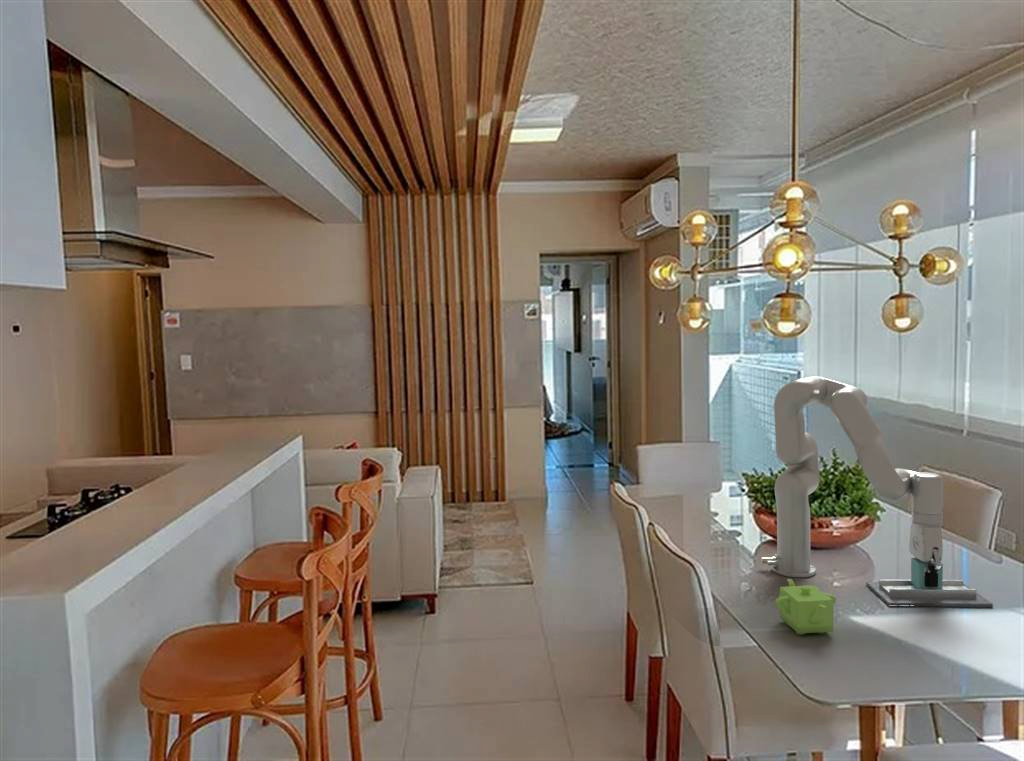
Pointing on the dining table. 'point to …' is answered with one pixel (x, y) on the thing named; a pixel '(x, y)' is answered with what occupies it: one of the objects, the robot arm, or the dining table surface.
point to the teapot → (806, 608)
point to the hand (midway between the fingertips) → (926, 582)
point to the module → (923, 574)
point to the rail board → (928, 594)
